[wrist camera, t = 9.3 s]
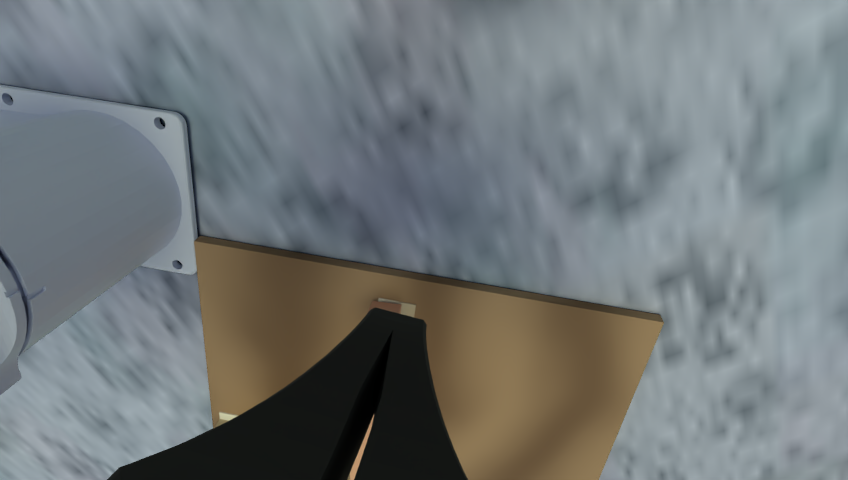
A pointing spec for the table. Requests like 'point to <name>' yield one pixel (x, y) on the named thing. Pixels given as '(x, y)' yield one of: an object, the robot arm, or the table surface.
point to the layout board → (433, 352)
